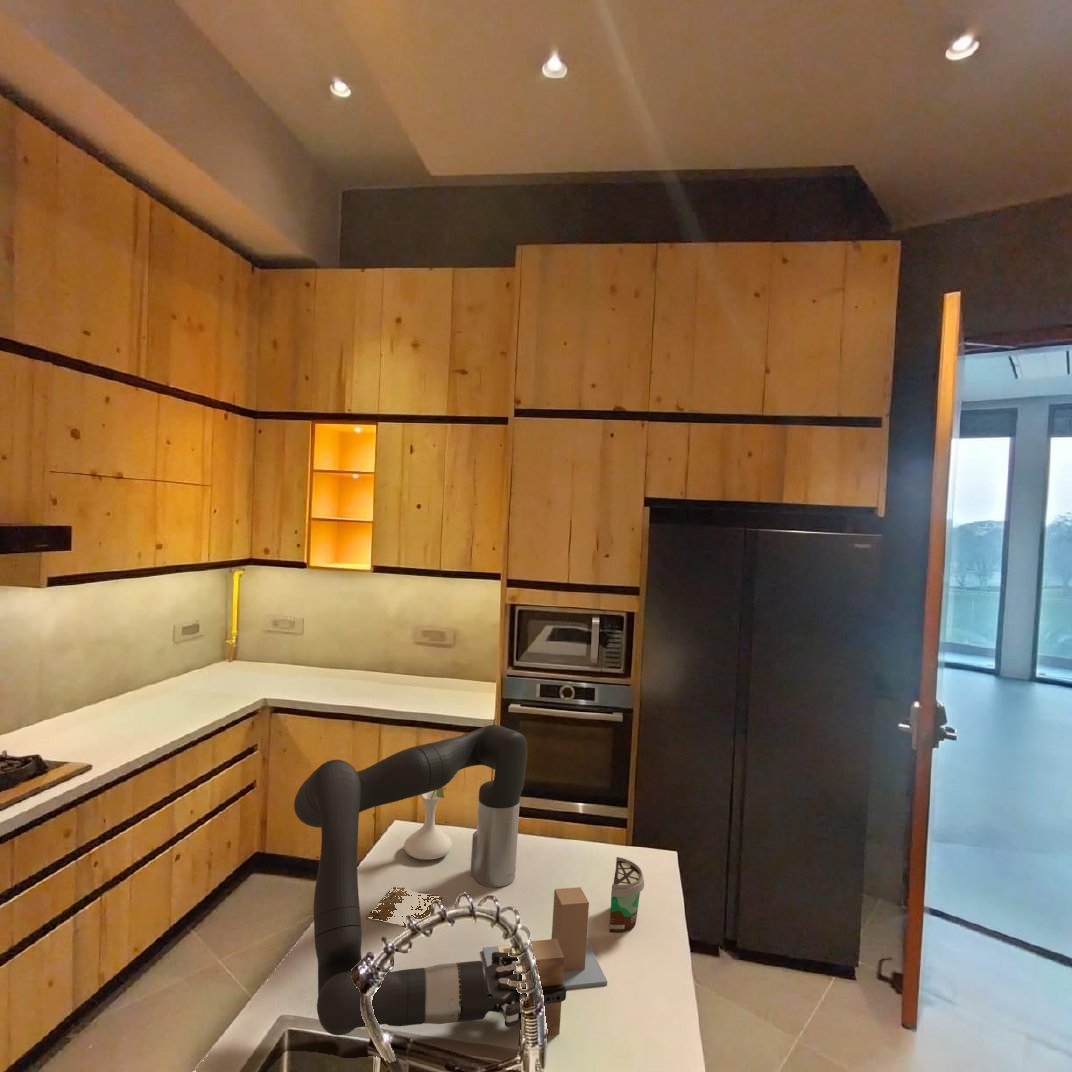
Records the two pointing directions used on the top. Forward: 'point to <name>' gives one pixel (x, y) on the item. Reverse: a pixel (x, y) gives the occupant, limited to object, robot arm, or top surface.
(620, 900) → the food container
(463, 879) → the top surface
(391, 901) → the cookie
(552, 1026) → the walnut pillar
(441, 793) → the flower in vase
